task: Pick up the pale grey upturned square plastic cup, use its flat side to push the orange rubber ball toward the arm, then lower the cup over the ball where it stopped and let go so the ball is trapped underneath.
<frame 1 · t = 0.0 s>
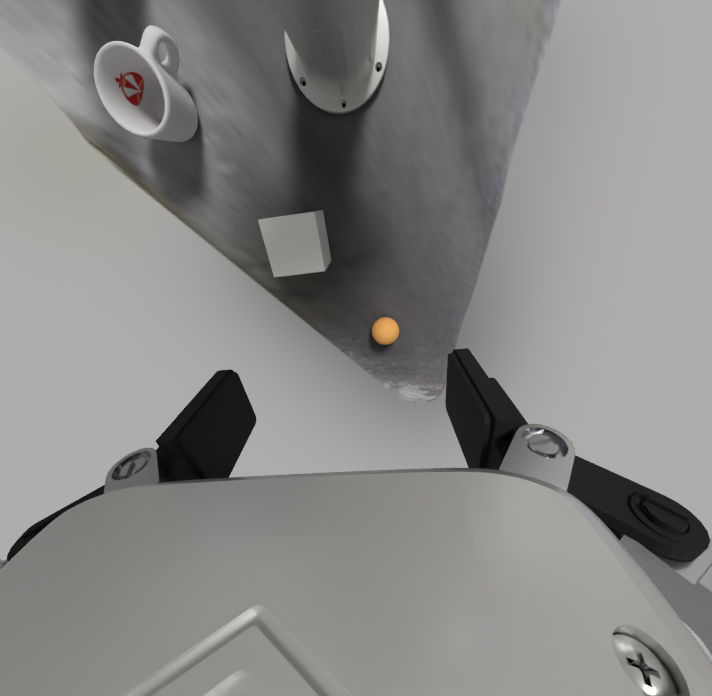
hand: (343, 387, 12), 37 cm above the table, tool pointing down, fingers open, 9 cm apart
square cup: (304, 239, 43), on the table
cup: (180, 102, 35), on the table
ball: (385, 331, 48), on the table
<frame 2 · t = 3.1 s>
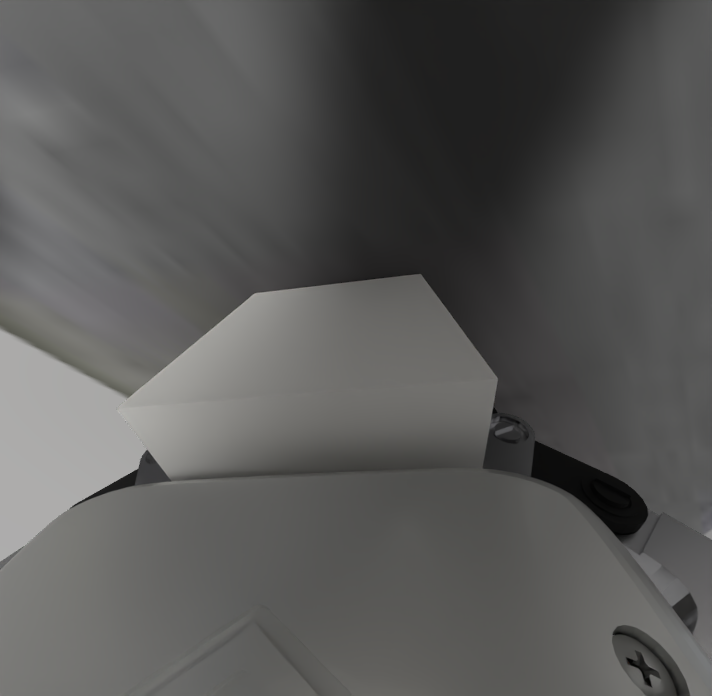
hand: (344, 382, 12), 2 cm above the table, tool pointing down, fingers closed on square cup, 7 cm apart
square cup: (347, 355, 14), on the table, touching gripper
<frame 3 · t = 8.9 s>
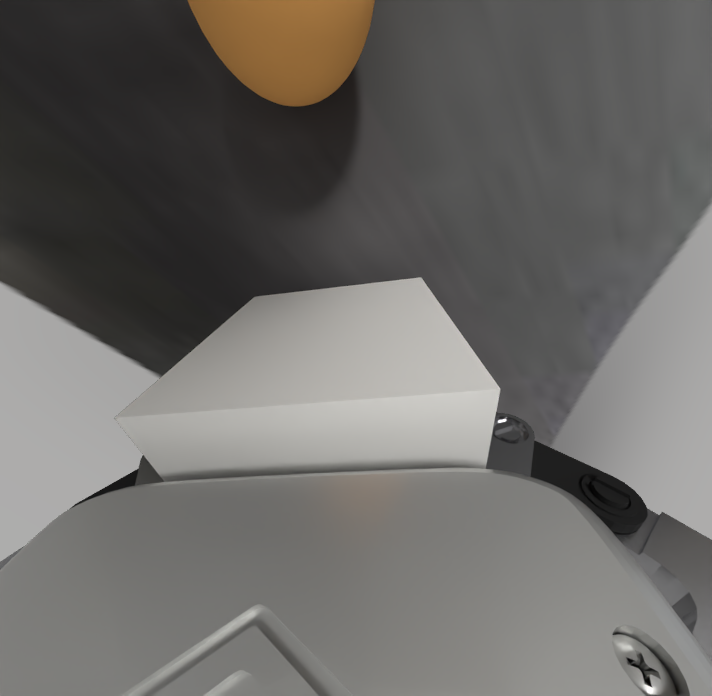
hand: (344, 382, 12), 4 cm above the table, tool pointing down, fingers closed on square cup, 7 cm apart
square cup: (347, 358, 14), point 1 cm above the table, touching gripper
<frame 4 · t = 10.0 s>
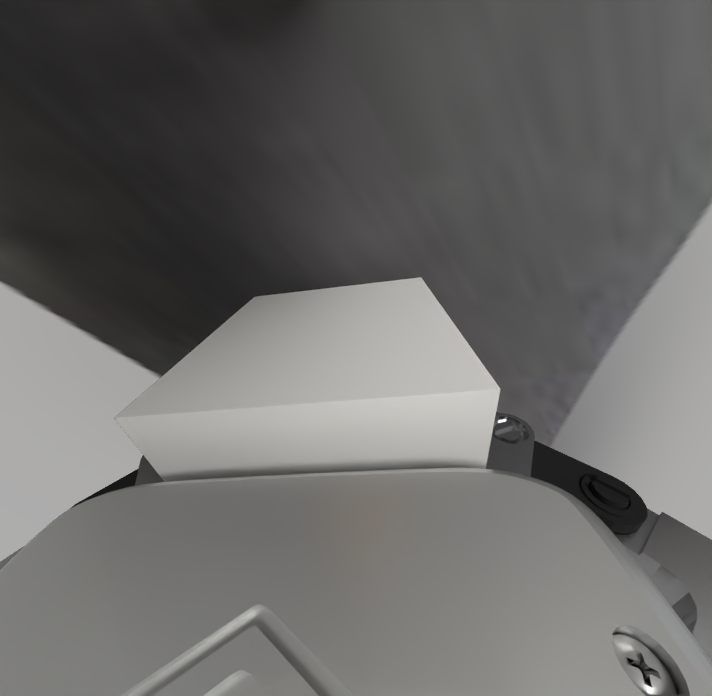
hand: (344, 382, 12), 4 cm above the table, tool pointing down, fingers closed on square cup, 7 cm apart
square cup: (347, 358, 14), point 1 cm above the table, touching gripper
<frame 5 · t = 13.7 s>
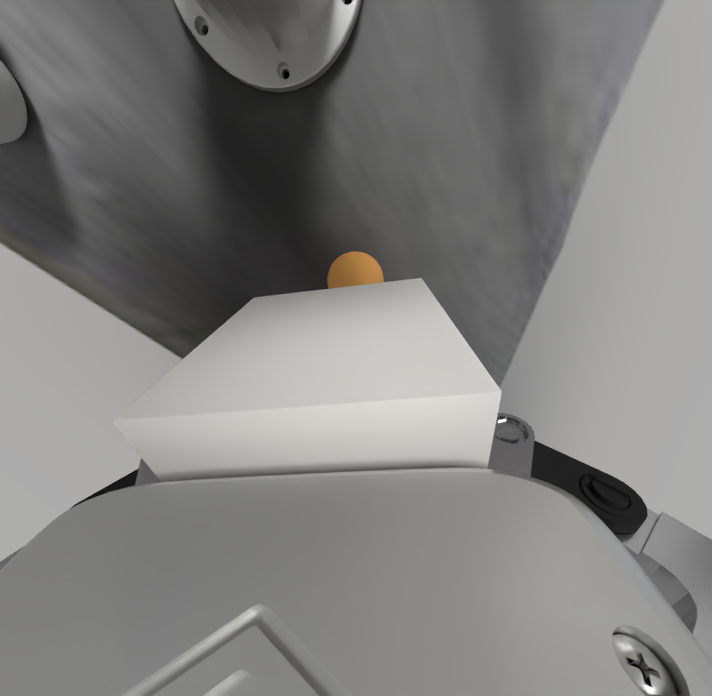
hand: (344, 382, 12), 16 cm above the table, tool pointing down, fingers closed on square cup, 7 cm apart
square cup: (347, 359, 14), point 14 cm above the table, touching gripper
ball: (355, 281, 23), on the table
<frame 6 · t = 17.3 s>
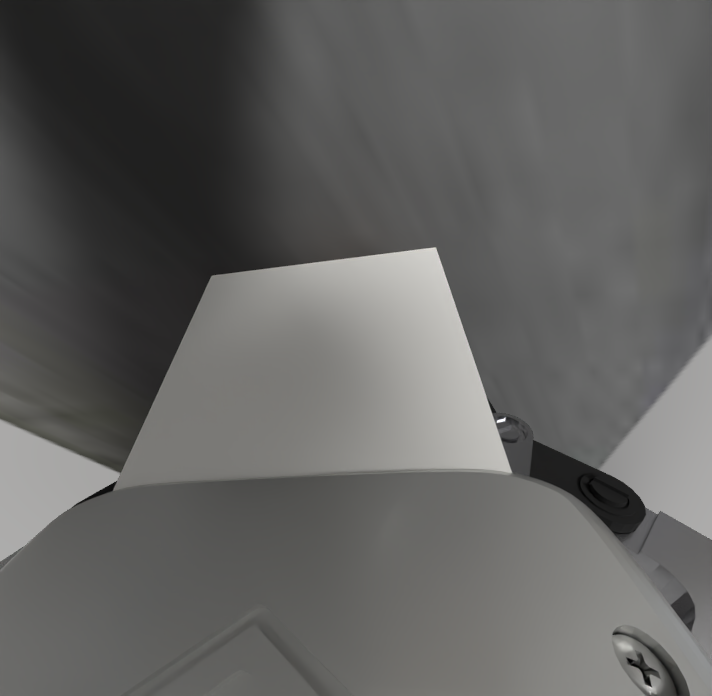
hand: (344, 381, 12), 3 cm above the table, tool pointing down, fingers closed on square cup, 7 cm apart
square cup: (339, 332, 12), point 2 cm above the table, tilted 25°, touching ball, gripper
when the fingers open (3 cm above the table, at t = 17.7 s): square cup drops 2 cm, on the table.
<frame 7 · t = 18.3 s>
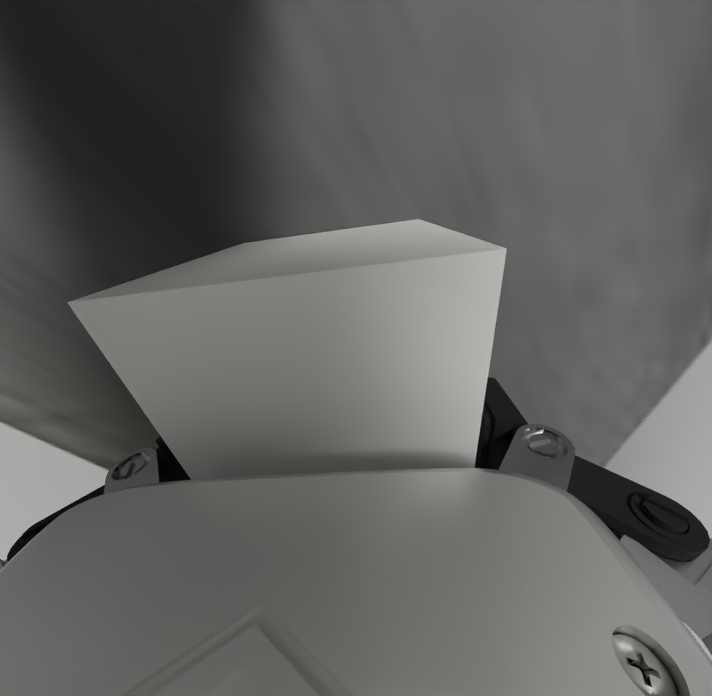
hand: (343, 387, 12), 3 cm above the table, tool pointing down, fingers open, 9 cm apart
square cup: (341, 314, 13), on the table
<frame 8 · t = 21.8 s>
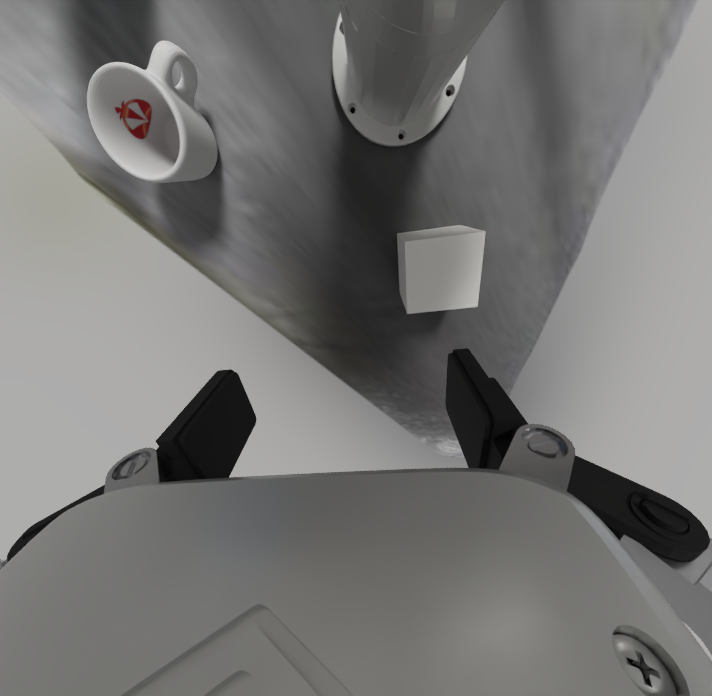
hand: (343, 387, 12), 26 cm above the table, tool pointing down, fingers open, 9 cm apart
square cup: (427, 261, 34), on the table
cup: (196, 131, 28), on the table
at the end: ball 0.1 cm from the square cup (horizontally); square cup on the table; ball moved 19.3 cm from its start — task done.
